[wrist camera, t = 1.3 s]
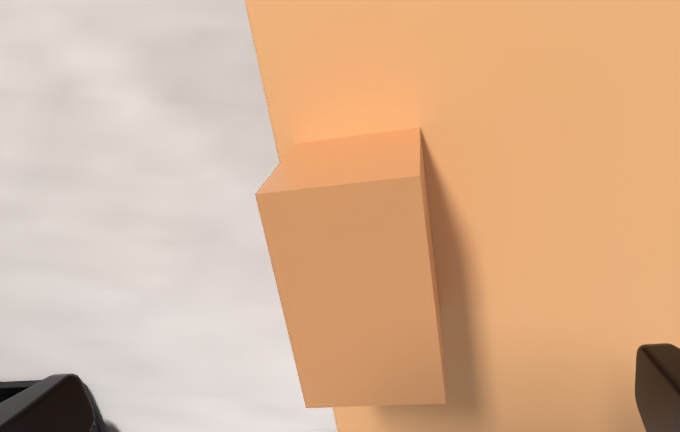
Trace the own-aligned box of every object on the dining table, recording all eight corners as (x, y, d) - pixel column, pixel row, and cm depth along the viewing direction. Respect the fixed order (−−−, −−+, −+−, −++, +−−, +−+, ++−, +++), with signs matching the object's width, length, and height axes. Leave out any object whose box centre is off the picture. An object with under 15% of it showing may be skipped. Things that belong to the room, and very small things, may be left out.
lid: (348, 407, 18) (322, 557, 14) (253, -66, 13) (154, -96, 8) (840, 392, 16) (1029, 573, 11) (978, -218, 10) (1475, -398, 5)
